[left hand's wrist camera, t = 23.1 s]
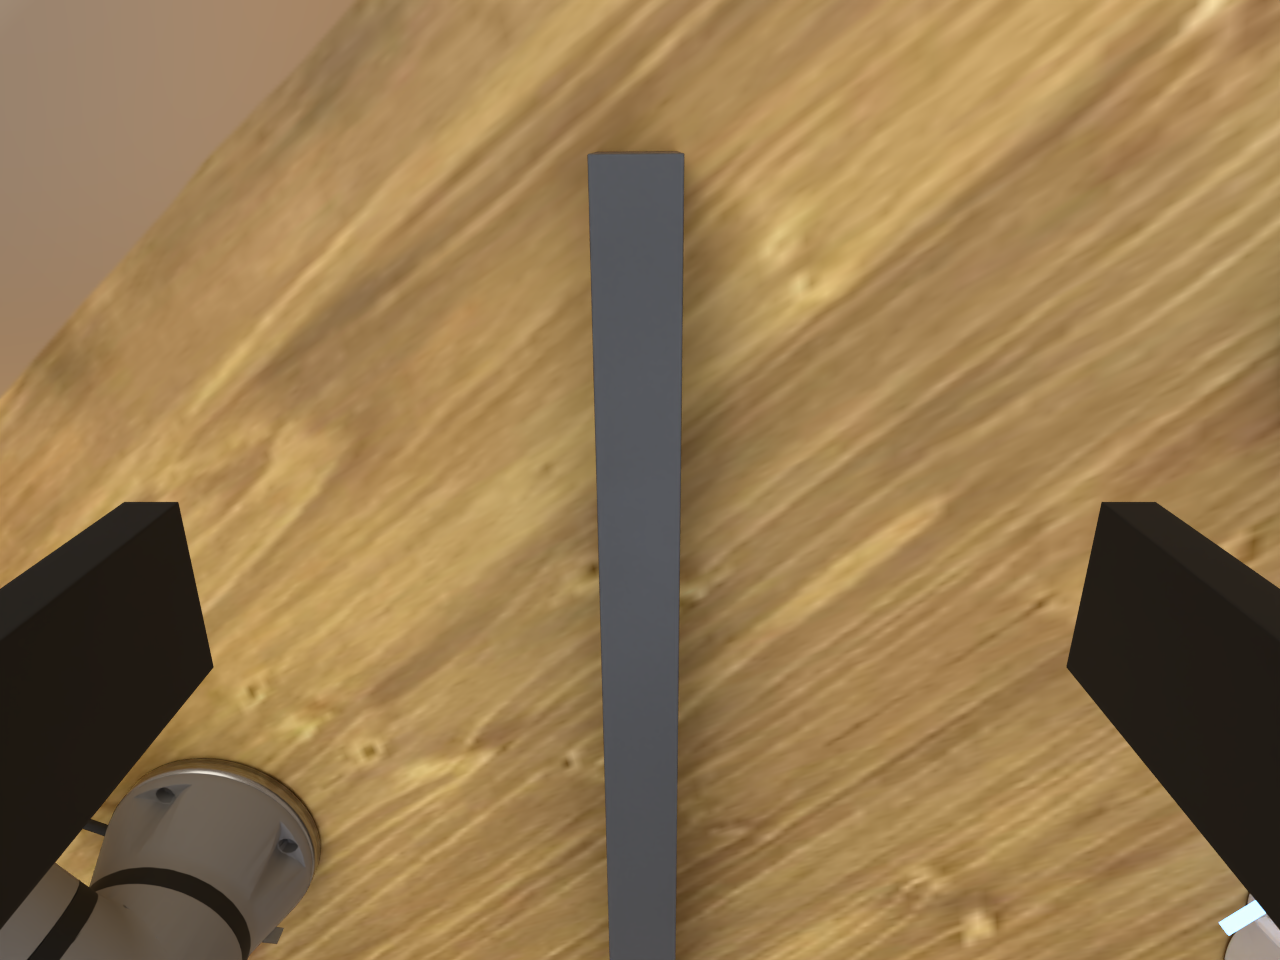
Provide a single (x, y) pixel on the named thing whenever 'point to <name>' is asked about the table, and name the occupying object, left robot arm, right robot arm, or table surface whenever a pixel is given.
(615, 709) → the bar
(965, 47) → the table surface
